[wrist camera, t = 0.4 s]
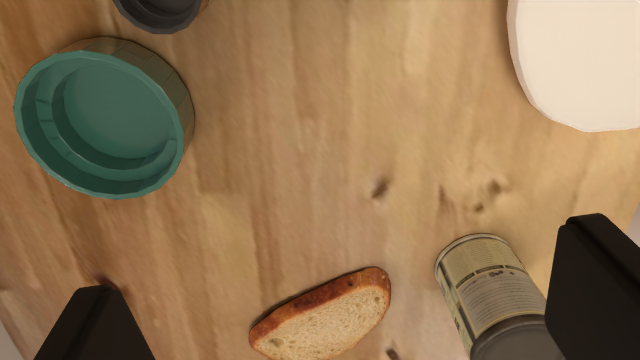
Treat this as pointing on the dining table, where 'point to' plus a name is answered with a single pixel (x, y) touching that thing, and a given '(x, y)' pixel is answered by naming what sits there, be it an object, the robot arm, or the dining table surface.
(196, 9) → the charcoal bowl
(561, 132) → the dining table surface
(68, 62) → the green bowl
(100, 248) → the dining table surface
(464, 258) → the coffee can
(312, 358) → the bread slice
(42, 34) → the dining table surface
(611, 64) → the plate
